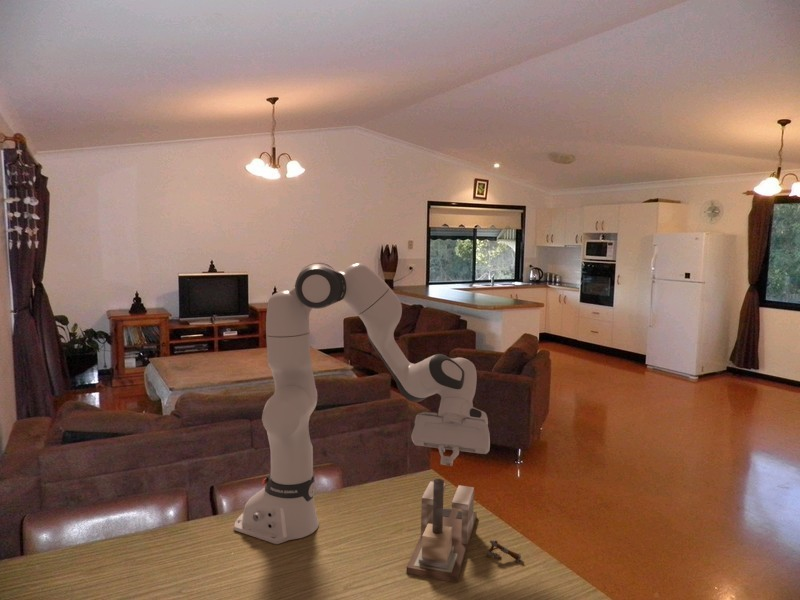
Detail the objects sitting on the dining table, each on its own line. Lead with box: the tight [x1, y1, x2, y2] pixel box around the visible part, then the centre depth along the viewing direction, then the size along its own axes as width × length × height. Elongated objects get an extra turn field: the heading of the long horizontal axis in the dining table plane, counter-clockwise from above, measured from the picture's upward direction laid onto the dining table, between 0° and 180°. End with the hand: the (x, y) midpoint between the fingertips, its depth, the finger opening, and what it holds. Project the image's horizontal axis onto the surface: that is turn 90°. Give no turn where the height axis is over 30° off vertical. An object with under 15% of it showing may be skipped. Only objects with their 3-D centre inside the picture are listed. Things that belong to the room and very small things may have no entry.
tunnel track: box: [405, 480, 478, 584], centre depth 143 cm, size 12×31×12 cm, turn 164°
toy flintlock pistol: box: [486, 539, 522, 563], centre depth 137 cm, size 2×8×4 cm, turn 80°
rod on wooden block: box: [419, 478, 454, 569], centre depth 133 cm, size 7×8×19 cm
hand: (446, 464), depth 140 cm, fingers closed
